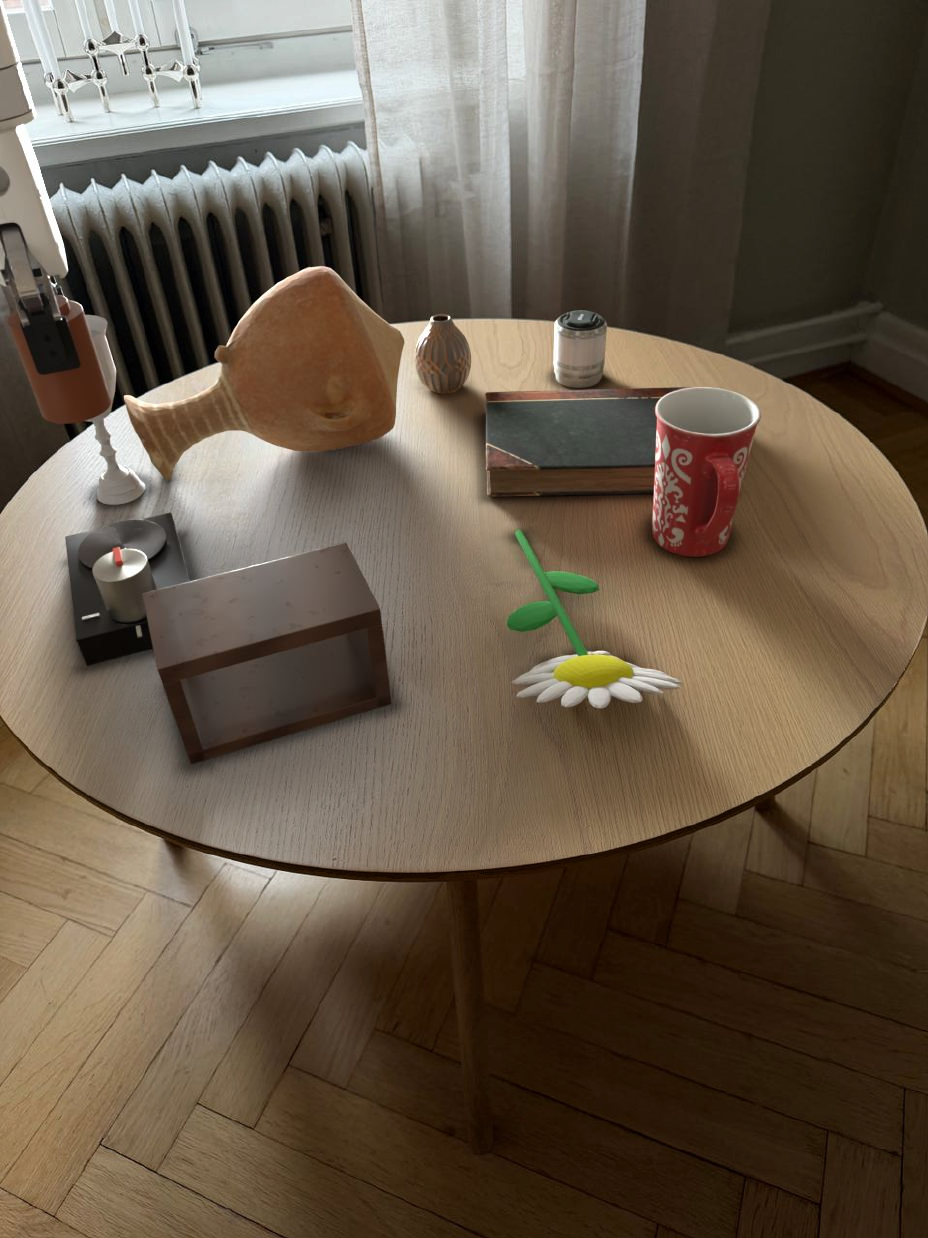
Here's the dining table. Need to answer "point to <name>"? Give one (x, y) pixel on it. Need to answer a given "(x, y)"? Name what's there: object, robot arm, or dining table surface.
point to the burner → (123, 540)
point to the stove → (91, 618)
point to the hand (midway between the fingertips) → (57, 351)
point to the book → (572, 441)
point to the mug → (700, 467)
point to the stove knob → (124, 583)
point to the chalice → (116, 479)
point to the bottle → (72, 389)
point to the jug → (289, 376)
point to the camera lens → (579, 348)
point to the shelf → (268, 650)
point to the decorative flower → (577, 651)
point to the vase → (442, 356)
